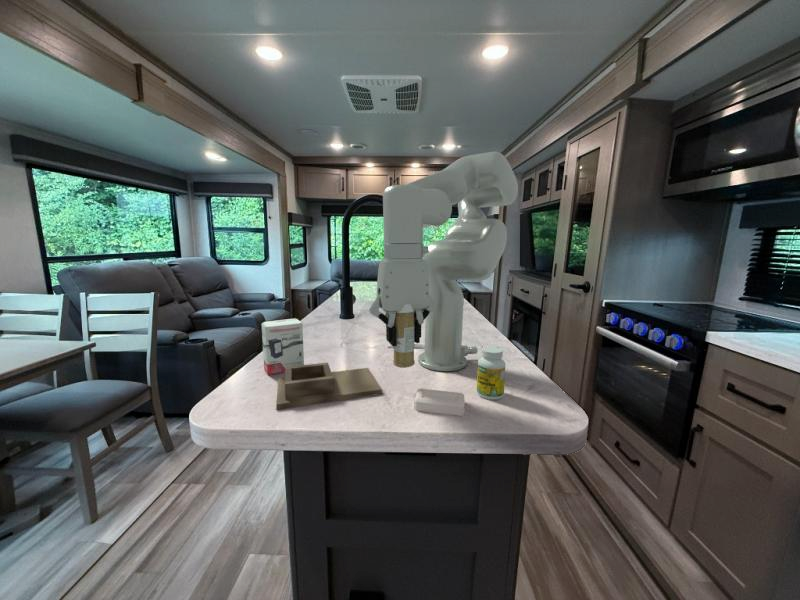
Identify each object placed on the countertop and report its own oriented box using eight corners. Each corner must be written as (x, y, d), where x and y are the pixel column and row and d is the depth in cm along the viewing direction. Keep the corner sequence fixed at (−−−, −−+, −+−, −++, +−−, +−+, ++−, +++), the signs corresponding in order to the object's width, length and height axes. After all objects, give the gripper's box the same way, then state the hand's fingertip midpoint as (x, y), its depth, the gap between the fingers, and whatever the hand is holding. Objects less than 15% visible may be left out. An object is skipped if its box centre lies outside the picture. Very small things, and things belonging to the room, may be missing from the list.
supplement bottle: (507, 393, 63) (510, 349, 61) (497, 403, 59) (500, 356, 57) (483, 386, 66) (485, 343, 64) (471, 394, 62) (474, 349, 60)
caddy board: (368, 371, 73) (367, 355, 72) (382, 393, 62) (382, 375, 61) (278, 382, 66) (277, 365, 66) (276, 409, 55) (275, 388, 54)
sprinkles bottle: (389, 363, 64) (388, 300, 61) (407, 358, 66) (406, 298, 64) (401, 370, 60) (400, 304, 57) (419, 365, 63) (419, 301, 60)
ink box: (267, 376, 70) (264, 326, 68) (263, 369, 74) (260, 321, 72) (304, 368, 74) (303, 321, 72) (299, 362, 78) (297, 317, 76)
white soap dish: (464, 417, 54) (464, 405, 54) (413, 412, 56) (414, 399, 55) (463, 403, 59) (464, 391, 59) (417, 398, 61) (417, 387, 60)
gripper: (434, 251, 65) (433, 333, 69) (356, 253, 59) (359, 342, 63) (451, 252, 58) (449, 343, 62) (365, 255, 52) (368, 354, 56)
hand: (403, 341), depth 62 cm, fingers closed on sprinkles bottle, 4 cm apart
